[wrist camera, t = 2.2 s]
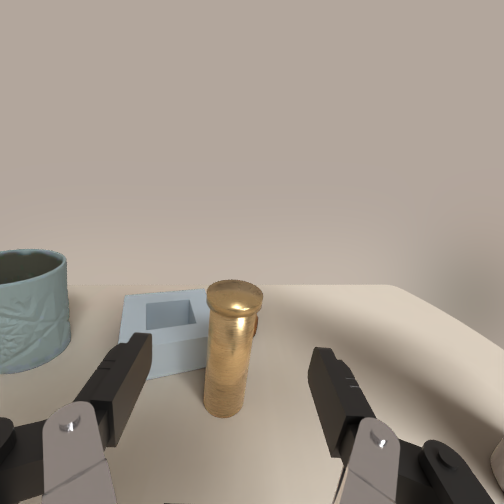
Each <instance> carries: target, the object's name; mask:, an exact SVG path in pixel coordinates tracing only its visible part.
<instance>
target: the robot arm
mask: <svg viewBox="0 0 504 504" xmlns="http://www.w3.org/2000/svg"><path fill="white" fill-rule="evenodd" d="M151 365H152V334H151V333H140V332H135V333H133V335H132V336H131V338H130V339H129V341H128V342H127V343H119V344H118V345H116V346H115V347H114V348H112V349H111V350H110V351H109V352H108V354H107V355H106V356H105V358H104V359H103V362H101V363H100V365H99V366H98V368H97V370H95V372H94V373H93V375H92V376H91V377H90V379H89V380H88V382H87V383H86V384H85V386H84V387H83V389H82V390H81V391H80V393H79V394H78V396H77V397H76V398H75V400H74V401H73V402H72V403H70V404H67V405H65V406H63V407H61V408H59V409H58V410H57V411H55V412H54V413H53V414H52V415H51V416H50V417H49V418H48V419H46V420H43V421H40V422H35V423H31V424H26V425H22V426H18V427H14V426H13V422H12V421H11V420H10V419H8V418H3V417H0V504H18V503H19V502H20V501H23V500H26V499H29V498H32V497H35V496H39V495H42V494H43V495H42V504H117V501H116V496H115V492H114V488H113V483H112V479H111V475H110V470H109V466H108V462H107V459H105V456H104V450H105V448H106V447H116V446H117V444H118V441H119V439H120V437H121V435H122V432H123V430H124V428H125V426H126V424H127V421H128V419H129V417H130V415H131V412H132V410H133V408H134V406H135V403H136V401H137V399H138V397H139V395H140V392H141V390H142V388H143V386H144V383H145V381H146V379H147V377H148V374H149V372H150V369H151ZM308 383H309V387H310V390H311V393H312V397H313V400H314V403H315V406H316V410H317V413H318V416H319V419H320V422H321V426H322V429H323V432H324V435H325V439H326V442H327V445H328V448H329V452H330V455H331V457H334V458H341V459H342V462H343V465H344V466H343V468H342V471H341V474H340V478H339V481H338V485H337V488H336V491H335V495H334V498H333V501H332V504H495V503H494V502H493V500H492V499H491V497H490V496H489V495H488V493H487V492H486V490H485V489H484V488H483V486H482V485H481V483H480V482H479V481H478V479H477V478H476V476H475V475H474V474H473V472H472V471H471V469H470V468H469V466H468V465H467V464H466V462H465V461H464V460H463V459H462V457H461V456H460V455H459V454H458V453H457V452H455V451H454V450H453V449H452V448H450V447H449V446H447V445H445V444H444V443H442V442H439V441H436V440H428V441H426V442H425V443H424V445H423V447H419V446H416V445H414V444H411V443H408V442H406V441H403V440H401V439H398V438H397V436H396V435H395V433H394V432H393V431H392V429H391V428H390V427H389V426H387V425H386V424H385V423H383V422H382V421H380V420H378V419H377V418H376V416H375V415H374V413H373V411H372V409H371V407H370V405H369V403H368V402H367V400H366V398H365V396H364V394H363V392H362V390H361V388H359V385H358V383H357V381H356V380H355V377H354V375H353V374H352V372H351V370H350V368H349V367H348V366H347V365H346V364H345V363H344V362H343V361H342V360H337V359H336V357H335V355H334V353H333V351H332V349H331V348H321V347H315V348H314V351H313V354H312V358H311V362H310V366H309V369H308ZM491 467H492V470H493V474H494V476H495V478H496V480H497V482H498V484H499V485H500V487H501V488H502V490H503V491H504V437H503V438H502V440H501V441H500V443H499V444H498V446H497V447H496V448H495V450H494V451H493V453H492V455H491ZM164 504H168V503H164Z"/></svg>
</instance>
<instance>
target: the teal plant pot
mask: <svg viewBox="0 0 504 504" xmlns="http://www.w3.org/2000/svg"><path fill="white" fill-rule="evenodd" d="M68 305H69V301H68V290H67V262H66V258H65V256H63V255H62V254H60V253H58V252H54V251H50V250H39V249H19V250H8V251H1V252H0V374H11V373H18V372H23V371H26V370H30V369H33V368H36V367H38V366H41V365H43V364H45V363H47V362H49V361H50V360H52V359H54V358H55V357H56V356H58V355H59V354H60V353H62V352H63V351H64V350H65V349H66V347H67V346H68V344H69V342H70V338H71V332H70V323H69V321H68V318H69V308H68Z"/></svg>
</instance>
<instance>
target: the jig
mask: <svg viewBox="0 0 504 504" xmlns="http://www.w3.org/2000/svg"><path fill="white" fill-rule="evenodd" d="M206 298H207V294H206V292H205V290H204V289H194V290H182V291H170V292H158V293H147V294H135V295H125V298H124V306H123V313H122V320H121V327H120V334H119V341H118V344H119V343H127V342H128V341H129V339H130V338H131V336H132V335H133V333H135V332H140V333H151V334H152V365H151V369H150V372H149V374H148V377H147V379H146V380H149V379H154V378H159V377H163V376H168V375H173V374H177V373H182V372H187V371H191V370H196V369H201V368H205V367H206V358H207V343H208V329H209V315H210V308H209V307H208V306H207V303H206Z"/></svg>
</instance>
